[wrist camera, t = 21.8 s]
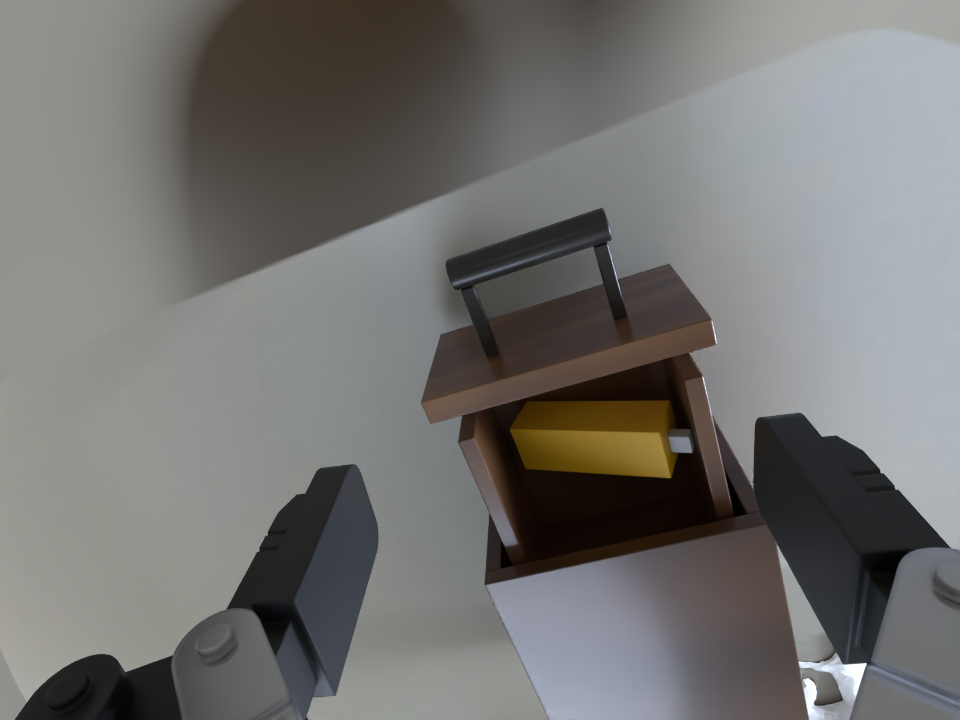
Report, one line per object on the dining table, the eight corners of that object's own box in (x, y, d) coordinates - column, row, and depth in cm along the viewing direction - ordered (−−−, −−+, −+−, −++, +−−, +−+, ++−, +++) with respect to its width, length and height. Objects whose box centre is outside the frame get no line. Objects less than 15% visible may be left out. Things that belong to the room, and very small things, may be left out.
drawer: (405, 251, 30) (374, 302, 24) (647, 167, 28) (687, 199, 21) (522, 530, 38) (523, 626, 32) (719, 484, 36) (765, 578, 29)
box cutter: (541, 440, 34) (525, 469, 32) (526, 401, 32) (509, 429, 31) (702, 445, 29) (693, 480, 27) (692, 400, 28) (682, 433, 26)
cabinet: (491, 470, 37) (484, 584, 29) (712, 414, 35) (772, 522, 26) (561, 635, 44) (571, 768, 35) (752, 598, 41) (812, 732, 33)
